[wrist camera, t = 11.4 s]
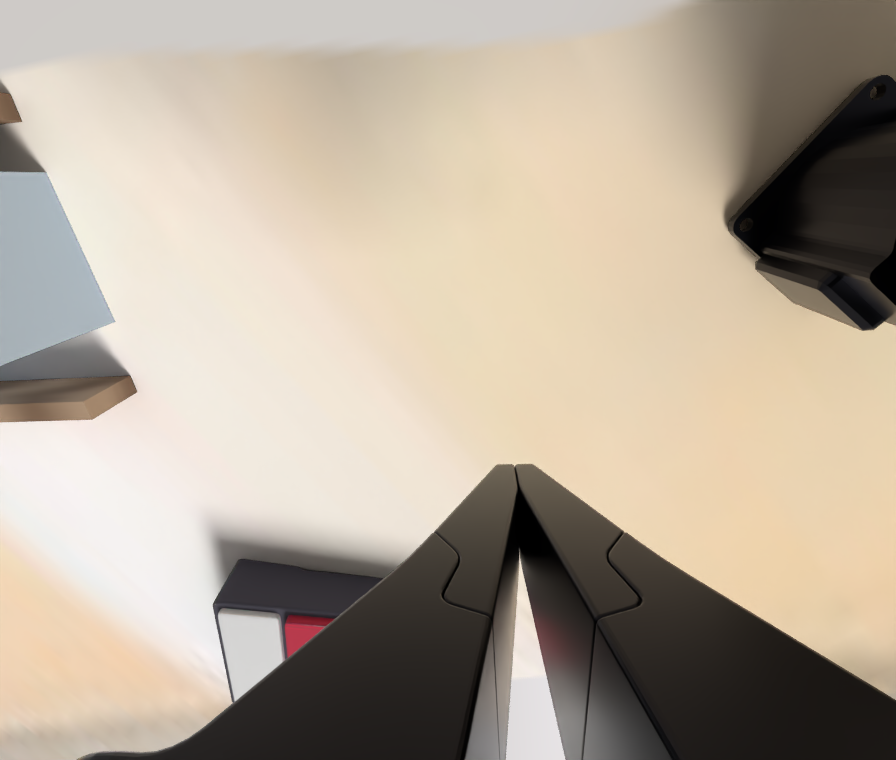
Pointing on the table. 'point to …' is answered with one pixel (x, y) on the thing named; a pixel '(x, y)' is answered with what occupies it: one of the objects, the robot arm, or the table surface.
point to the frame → (57, 394)
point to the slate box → (42, 271)
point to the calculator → (276, 615)
